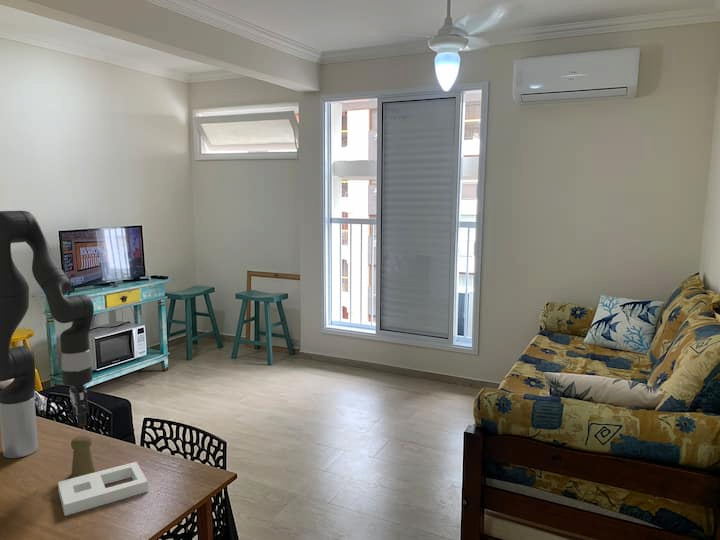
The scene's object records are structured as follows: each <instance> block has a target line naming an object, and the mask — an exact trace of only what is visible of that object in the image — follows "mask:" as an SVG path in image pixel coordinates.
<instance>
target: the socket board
mask: <svg viewBox="0 0 720 540" xmlns="http://www.w3.org/2000/svg"><path fill="white" fill-rule="evenodd" d="M129 478H131V479H132V480H131V481H127V482H124V483H120V484H115V485H114V486H113V485H112V486H110V487H106V486H105V485H107V484H112V483H114V482H118V481H122V480H125V479H129ZM148 483H149V482H148V480H147V478H146V475H145V474H144V472H143V470H142V469H141V467H140V466H139V463H138V462H137V461H134V462H130V463H126V464H123V465H118V466H114V467H110V468H107V469H102V470H99V471H95V472H94V473H91V474H87V475H83V476H79V477H75V478H73V477H71V478H67V479H64V480H59V481H57V485H58V486H57V487H58V495H59V499H60V503H61V507H62V510H63V516H70V515H72V514H76V513H80V512H84V511H87V510H90V509H93V508H97V507H101V506H105V505H108V504H110V503H114V502H117V501H121V500H124V499H125V500H126V499H128V498H132V497H134V495H135V496H138V495H141V493H142V494H146V493H149V484H148ZM137 494H138V495H137ZM131 496H132V497H131Z"/></svg>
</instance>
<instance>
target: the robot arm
mask: <svg viewBox="0 0 720 540" xmlns="http://www.w3.org/2000/svg"><path fill="white" fill-rule="evenodd" d="M19 243H26V244H27V245H28V246H29V247H30V248H31V250H32V256H33V257H32V262H31V263H32V265H31V270H32V271H31V272H32V276H33V278H34V279H35V281H36V283H37V284H38V285H39V288H41V290H42V291H43V293H44V295H45V298H46V301H47V305H48V308H49V311H50V315H51V317H52V318H53V319H54V320H55V321H56V322H57V323H60V324H68V323H72V324H71V326H70V327H68V328H67V329H65V330H63V331H62V332H61V333H60V336H59V337H60V339H59V340H60V353H61V355H60V367H61V368H60V370H61V381H62V385H64V386H66V387H70V388H69V398H70V401H71V403H72V409H73V411H72V413H73V417H74V418H76V419H77V426H78V427H79V428H82V427H86V426H87V425H88V421H87V420H88V418H87V414H88V413H89V407H88V390H87V388H86V384H89V383H91V382H92V380H93V369H92V368H93V367H92V355H91V349H90V337H89V335H90V330H91V328H92V321H93V317H94V313H95V311H94V310H95V307H94V303H93V301H92V299H91V298H90V296H88V295H87V294H75V295H70V296H65V295H67V294H68V293H69V292H70V291H71V290H72V283H71V280H70V278H69V277H68V276H67V275H66V273H65V272H64V270H63V269H62V267H61V266H60V265H59V263H58V261H57V260H56V258H55V256H54V254H53V253H52V249H51V248H50V246H49V244H48V241H47V239H46V237H45V234H44V233H43V231H42V228H41V226H40V224H39V222H38V220H37V219H36V217H35V215H34V214H32V213H31V212H30V211H27V210H0V382H1V383H2V382H7V381H9V380H12V381H11V382H10V383H9V384H8V385H6V386H5V387H4V388H3V389H1V390H0V432H1V435H0V436H1V444H2V445H1V447H2V456H3V457H4V458H7V459H17V458H18V459H19V458H22V457H27V456H30V455H31V454H34V453H35V452H36V451H37V450H38V448H39V446H38V445H39V442H38V430H37V413H36V401H35V390H36V360H35V355H34V352H33V351H32V349H31V348H30V347H29V346H27V345H19V346H15V347H11V343H12V342H11V341H12V338H13V336H14V333H15V332H16V330H17V328H18V327H19V325H20V324H21V323H22V321H23V319H24V317H25V316H26V314H27V312H28V309H29V306H30V305H29V304H30V303H29V302H30V298H29V297H30V287H29V284H28V282H27V280H26V278H25V276H23V274H22V273H21V271H20V270H19V269H18V267H17V266H16V264H15V262H14V260H13V257H12V247H11V246H12V245H11V244H19Z"/></svg>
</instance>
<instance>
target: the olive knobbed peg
mask: <svg viewBox="0 0 720 540" xmlns="http://www.w3.org/2000/svg"><path fill="white" fill-rule="evenodd" d="M70 446H71V449H72V451H73V452H72V453H73V454H72V461H71V462H72V463H71V474H70V476H71V478H75V477H79V476H83V475H87V474H91V473H94V472H96V471H95V470H96V469H95V466H94V461H93V457H92V452H91V448H90V447H91V446H92V438H91V436H90V435H86V434H82V435H78V436H75V437H73V438H72V440H71V442H70Z"/></svg>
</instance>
